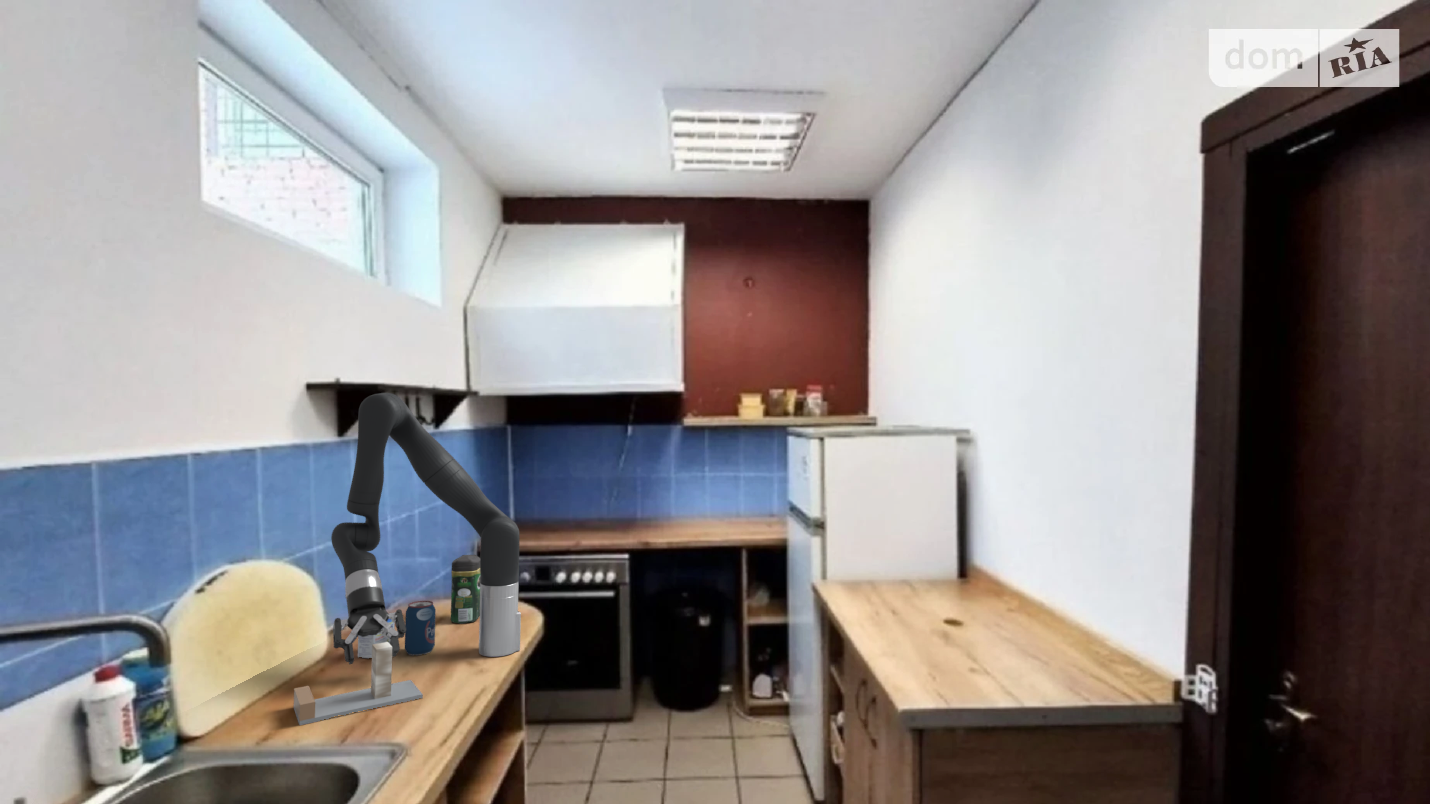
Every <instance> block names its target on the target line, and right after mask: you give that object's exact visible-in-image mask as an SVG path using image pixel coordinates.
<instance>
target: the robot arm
mask: <svg viewBox="0 0 1430 804" xmlns="http://www.w3.org/2000/svg"><path fill="white" fill-rule="evenodd" d="M357 416H358V417H357V418H358V419H357V447H356V456H355V462H354V469H353V474H352V479H351V484H350V488H349V492H348V496H347V502H346V510H347V512H349V513H350V514H353V515H356V516H360V517H364V518H365V522H352V521H351V522H346V521H345V522H341V523H339V524H337V525H336V526H335V527H334V528H333V530H332V532H331V539H330V541H331V544H332V548H333V550H334V552H335V554H336V556H337V557H338V559H339V561H340V563H341V566H342V568H343V572H344V581H345V587H344V592H345V596H344V597H345V599H346V608H347V614H348V619H347V618H346V619H341V618H340V617H336V618H335V619H334V621H333V626H332V634H333V635H332V638H333V648H334V649H339V648H341V649H343V652H344V660H345V662H346V663H348V665H353V664H354V661H355V653H354V646H353V643H354V642H355V641H356V639H358V635H359V636H362V637H365V636H368V635H377V633H380V634H381V635H382V636H383V637H387V638H388V639H389V640H390V645H391V646H392V658H394V657H396V656H397V654H398V653H399V652H400V647H401V646H400V641H399V640H400V639H401V638H405V632H406V626H405V619H404V615H403V611H402V609H401V608H399V609H395V610H396V611H394V612H389V613H388V611H387V610H386V604H385V598H384V597H385V596H384V590H383V586H382V580H381V578H380V575H379V574H380V573H379V569H378V562H377V558H376V555H374V553H372V551H374V550H375V549H377V547H378V545H379V544H380V541H381V529H380V528H381V527H380V520H379V513H380V512H379V511H380V509H379V508H380V503H381V498H382V497H381V496H382V493H383V489H384V488H383V487H384V481H385V477H384V476H385V462H384V461H385V460H384V459H385V451H386V446H387V443H388V440H389V437H390V438H391V439H392V440H393V441H395V443H396V444H397V445H398V446H399V447H400V448H401V450H402V451H403V452H404V454H405V455H406V458H407V459H408V461H409V462H410V465H411V466H412V468H413V471H414V472H415V473H416V475H417V476H418V478H419V479H420V481H421V482H422V483H424V485H425V486H426V488H428V489H429V490H430V491H431V492H432V493H433V494H434V495H435V496H436V497H437V498H438V500H439V499H440V500H441V501H442V503H444V504H445V505H446V506H448V507H449V508H451V509H453V511H456V513H458V514H459V515H461V516H462V517H463V518H464V519H465V520H466V521H467V522H468V523H469V525H471V527H472V528H473V529H474V530H475V532H476V533H477V535H478V536H479V537H480V555H479V558H480V578H481V580H480V616H479V621H478V623H479V624H478V625H479V627H478V629H479V630H478V633H479V634H478V635H479V636H478V653H479V655H481V656H484V657H492V658H493V657H503V656H508V655H511V654H513V653H514V654H515V652H518V651H520V650H521V621H522V619H521V618H522V614H521V612H520V611H519V579H520V578H519V574H520V529H519V527H518V524H517V523H516V522H515V521H514V520H513V519H511V517H509V516H508V515H507V514H505V513H504V512H503V511H502V510H501V509H500V508H498V507H497V506H496V505H495V504H494V503H493V502H492V501H491V500H490V499H489V498H488V497H487V496H486V495H485V494H484V492H483V491H482V489H481V488H480V487H479V486H478V484H477V482H475V481H474V479H473V478H472V477H471V475H470V474H469V473H468V472H467V471H466V469H465V468H464V467H463V466H462V465H461V464H460V462H458V460H457V459H455V458H454V456H453V455H452V454H451V453H449V452H448V450H447V449H446V448H445V447H443V446H442V444H441V443H440V442H439V441H437V439H436V438H435V437H433V435H431V434H430V433H429V432H428V431H427V430H426V428H424V426H423V425H422V424H421V422H420V421H419V420H418V419H417V417H416V416H415V415H414V413H413V412H412V411H411V409H410V408H409V407H408V405H407V404H406V403H405V401H404V400H403V399H402V398H401V397H400V396H398V395H396V394H394V393H391V392H381V393H374V394H372V395H369V396H367V397H365V398H364V399H363V401H361V403H360V405H359V408H358V415H357ZM388 619H391V620H392V622H393V623H395V627H396V629H395V628H394V629H393V628H392V627H391V625H390V624H389V623H388V622H387V621H388ZM346 626H347V628H348V629H350V630H351V632H350V633H349V635H348V636H347V637H346V639H344V638H342V631H343V630H344V629H345V627H346Z"/></svg>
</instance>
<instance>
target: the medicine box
mask: <svg viewBox="0 0 1430 804" xmlns="http://www.w3.org/2000/svg"><path fill="white" fill-rule="evenodd" d="M387 622H388V623H389V624H390V625H391V627H392V628H393V629H395V627H396V624H395V623H393V622H392V620H391V619H388V621H387ZM384 642H388V643H389V644H390V640H389V639H388V638H387V637H383V636H382V635H381V634H380V633H377V635H368V636H365V637H362V636H359V635H358V637H357V658H359V657H362V658H361V659H369V658H372V644H378V643H384Z"/></svg>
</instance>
